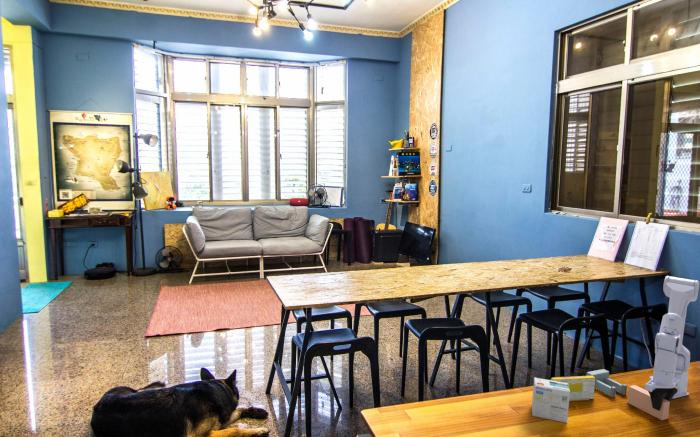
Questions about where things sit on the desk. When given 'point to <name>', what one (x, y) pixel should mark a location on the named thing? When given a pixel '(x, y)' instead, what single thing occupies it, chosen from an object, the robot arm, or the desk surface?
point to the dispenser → (607, 383)
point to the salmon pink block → (647, 402)
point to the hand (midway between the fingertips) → (659, 408)
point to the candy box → (579, 387)
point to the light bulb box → (550, 399)
